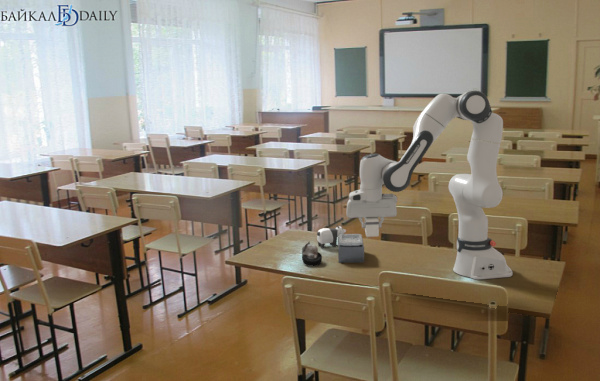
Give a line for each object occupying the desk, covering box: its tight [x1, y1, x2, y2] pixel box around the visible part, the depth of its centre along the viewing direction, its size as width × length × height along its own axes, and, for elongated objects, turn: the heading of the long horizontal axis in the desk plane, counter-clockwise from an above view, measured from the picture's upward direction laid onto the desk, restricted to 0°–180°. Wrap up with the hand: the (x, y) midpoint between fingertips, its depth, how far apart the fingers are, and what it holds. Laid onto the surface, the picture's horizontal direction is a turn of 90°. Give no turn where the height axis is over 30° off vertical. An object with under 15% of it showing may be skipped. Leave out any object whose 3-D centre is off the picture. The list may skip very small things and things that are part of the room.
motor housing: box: [337, 233, 365, 264], centre depth 238 cm, size 11×15×9 cm
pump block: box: [364, 217, 380, 238], centre depth 219 cm, size 5×8×7 cm, turn 177°
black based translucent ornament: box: [301, 241, 323, 267], centre depth 234 cm, size 7×11×10 cm
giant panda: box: [316, 224, 347, 249], centre depth 255 cm, size 15×6×10 cm, turn 110°
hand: (371, 227), depth 219 cm, fingers closed on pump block, 5 cm apart
